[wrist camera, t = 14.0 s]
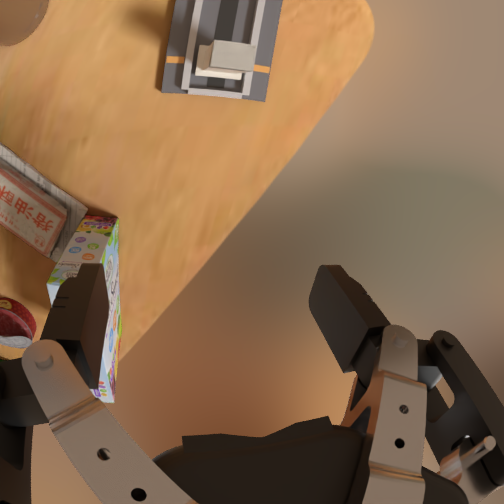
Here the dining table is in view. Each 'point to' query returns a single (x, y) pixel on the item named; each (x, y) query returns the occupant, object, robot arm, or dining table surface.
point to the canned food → (15, 324)
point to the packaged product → (36, 207)
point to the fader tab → (225, 59)
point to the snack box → (106, 252)
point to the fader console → (226, 29)
